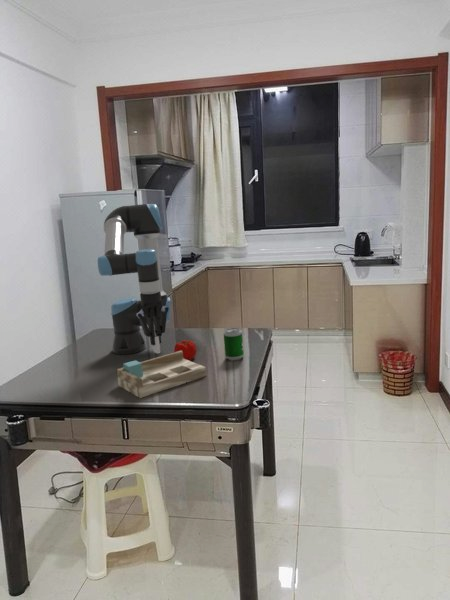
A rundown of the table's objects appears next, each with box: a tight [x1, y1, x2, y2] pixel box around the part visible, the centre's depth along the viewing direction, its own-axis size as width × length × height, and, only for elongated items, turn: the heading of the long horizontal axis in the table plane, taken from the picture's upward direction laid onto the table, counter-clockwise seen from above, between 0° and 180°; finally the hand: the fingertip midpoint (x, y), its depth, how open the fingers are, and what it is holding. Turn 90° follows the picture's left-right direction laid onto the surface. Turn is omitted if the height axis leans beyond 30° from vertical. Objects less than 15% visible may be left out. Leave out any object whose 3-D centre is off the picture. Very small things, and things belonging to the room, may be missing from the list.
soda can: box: [223, 327, 244, 361], centre depth 208 cm, size 8×8×12 cm
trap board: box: [116, 351, 207, 399], centre depth 189 cm, size 17×28×6 cm, turn 127°
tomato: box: [173, 339, 197, 361], centre depth 212 cm, size 9×9×8 cm
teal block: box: [122, 359, 143, 377], centre depth 186 cm, size 5×5×5 cm
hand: (157, 352), depth 192 cm, fingers closed
